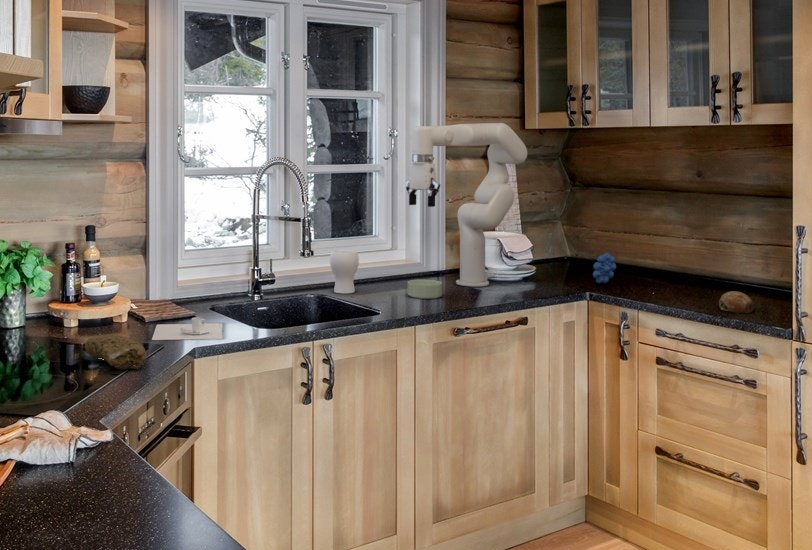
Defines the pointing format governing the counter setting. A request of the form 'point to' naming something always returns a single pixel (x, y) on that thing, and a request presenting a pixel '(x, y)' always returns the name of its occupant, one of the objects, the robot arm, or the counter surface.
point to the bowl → (424, 289)
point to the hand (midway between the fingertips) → (421, 205)
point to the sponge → (116, 350)
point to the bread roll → (736, 302)
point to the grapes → (604, 268)
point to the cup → (344, 269)
